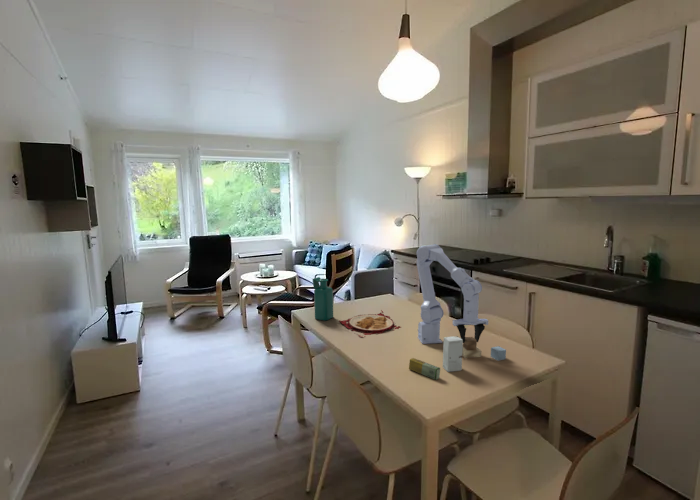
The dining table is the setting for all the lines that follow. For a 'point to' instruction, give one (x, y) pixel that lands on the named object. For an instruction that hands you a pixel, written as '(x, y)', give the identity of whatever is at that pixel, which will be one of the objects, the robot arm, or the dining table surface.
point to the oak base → (471, 353)
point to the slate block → (498, 353)
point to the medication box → (424, 368)
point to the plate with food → (370, 323)
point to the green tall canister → (323, 299)
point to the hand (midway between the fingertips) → (469, 341)
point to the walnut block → (470, 343)
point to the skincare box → (452, 353)
